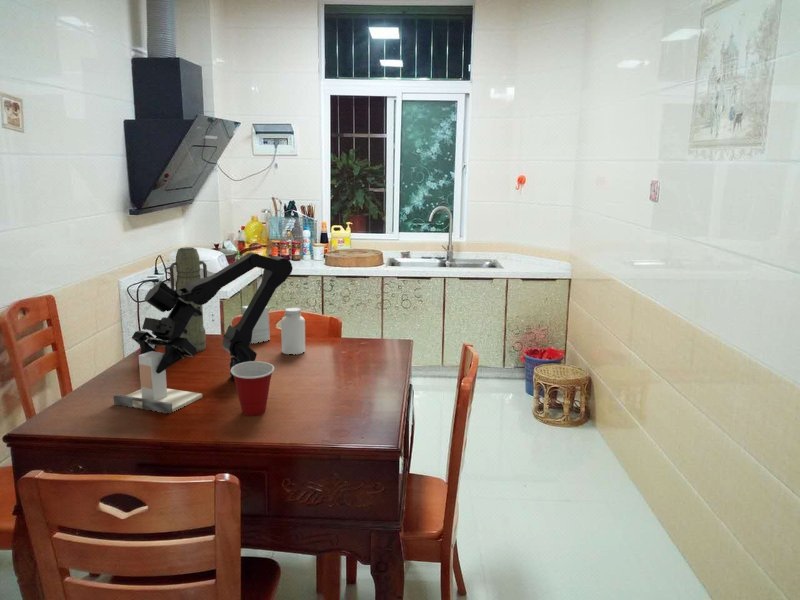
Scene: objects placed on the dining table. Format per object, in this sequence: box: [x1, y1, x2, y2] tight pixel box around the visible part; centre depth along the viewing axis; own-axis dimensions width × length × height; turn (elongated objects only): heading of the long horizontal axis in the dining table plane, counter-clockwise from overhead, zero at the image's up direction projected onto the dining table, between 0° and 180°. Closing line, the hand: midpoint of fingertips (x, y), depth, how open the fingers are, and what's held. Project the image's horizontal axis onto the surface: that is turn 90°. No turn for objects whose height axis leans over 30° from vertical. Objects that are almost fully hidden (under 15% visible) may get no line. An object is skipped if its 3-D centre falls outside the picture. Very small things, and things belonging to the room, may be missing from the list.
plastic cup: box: [229, 360, 275, 417], centre depth 160 cm, size 11×11×12 cm
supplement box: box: [241, 305, 271, 345], centre depth 228 cm, size 7×7×13 cm
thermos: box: [169, 246, 208, 353], centre depth 214 cm, size 9×12×35 cm
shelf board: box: [113, 388, 203, 415], centre depth 168 cm, size 18×13×2 cm
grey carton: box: [138, 351, 168, 401], centre depth 167 cm, size 5×4×12 cm
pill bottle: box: [280, 307, 306, 356], centre depth 214 cm, size 8×8×15 cm
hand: (148, 371), depth 166 cm, fingers open, 6 cm apart
